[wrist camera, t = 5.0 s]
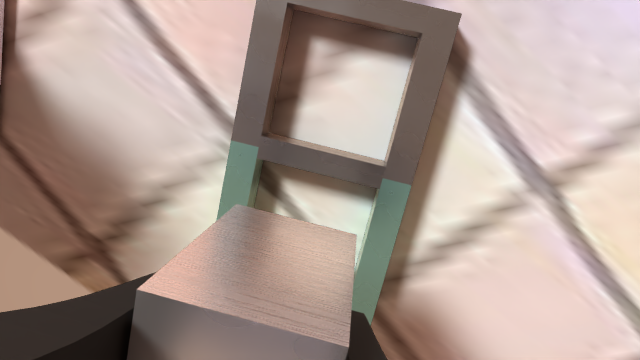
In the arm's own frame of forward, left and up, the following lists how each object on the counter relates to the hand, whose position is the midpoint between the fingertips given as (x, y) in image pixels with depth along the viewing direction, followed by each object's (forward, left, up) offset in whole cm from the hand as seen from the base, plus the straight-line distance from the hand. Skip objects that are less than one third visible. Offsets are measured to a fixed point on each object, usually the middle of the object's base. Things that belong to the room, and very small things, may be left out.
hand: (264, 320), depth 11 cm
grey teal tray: (0, +3, -9) cm, 9 cm away
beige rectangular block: (0, 0, -2) cm, 3 cm away
